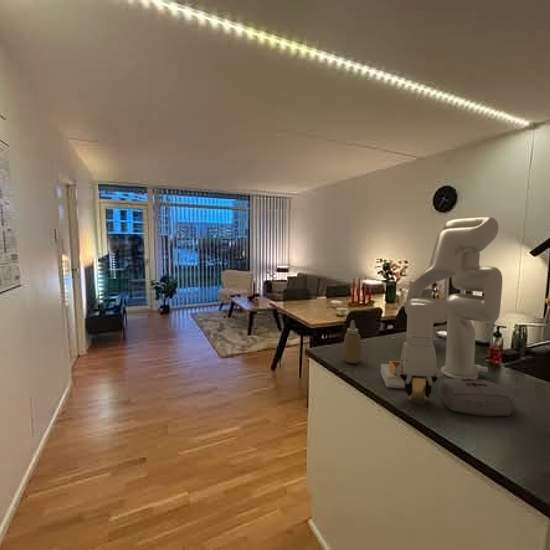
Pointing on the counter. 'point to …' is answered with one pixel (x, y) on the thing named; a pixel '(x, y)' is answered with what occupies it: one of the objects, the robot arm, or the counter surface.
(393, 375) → the orange white open box
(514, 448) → the counter surface
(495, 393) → the grey rounded bag
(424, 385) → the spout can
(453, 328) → the robot arm
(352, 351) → the squeeze bottle
